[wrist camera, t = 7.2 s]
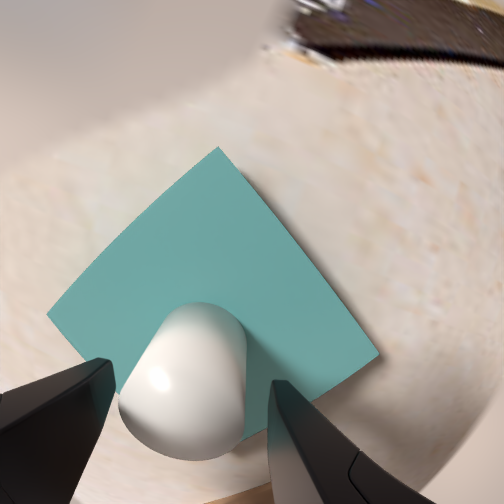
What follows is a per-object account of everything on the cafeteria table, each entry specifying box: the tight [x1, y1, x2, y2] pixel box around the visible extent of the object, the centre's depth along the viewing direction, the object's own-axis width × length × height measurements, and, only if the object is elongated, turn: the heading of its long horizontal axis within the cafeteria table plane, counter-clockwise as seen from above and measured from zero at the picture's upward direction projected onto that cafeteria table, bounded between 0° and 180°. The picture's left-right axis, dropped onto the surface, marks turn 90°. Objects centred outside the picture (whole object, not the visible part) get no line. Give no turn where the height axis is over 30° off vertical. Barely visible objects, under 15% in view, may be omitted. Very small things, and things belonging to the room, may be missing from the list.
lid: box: [47, 147, 379, 461], centre depth 9 cm, size 9×9×6 cm
